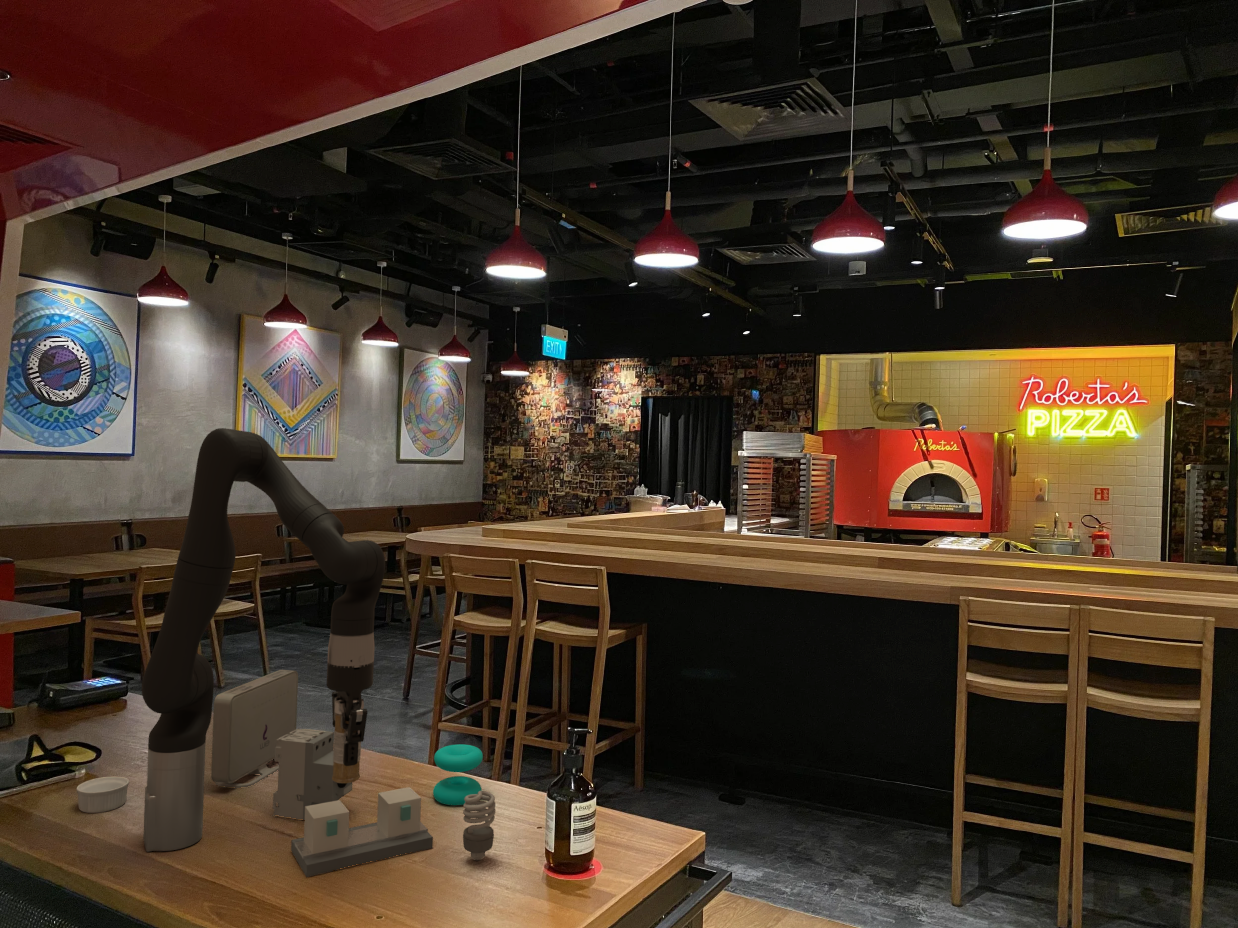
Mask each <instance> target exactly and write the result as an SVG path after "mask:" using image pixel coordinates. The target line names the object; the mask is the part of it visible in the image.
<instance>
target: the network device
mask: <svg viewBox="0 0 1238 928" xmlns="http://www.w3.org/2000/svg"><path fill="white" fill-rule="evenodd" d="M298 687H299V673H298V672H297V670H290V669H289V670H288V669H278V670H276V671H274V672H271V673H268V674H266V675H264V676H261V677H258V678H257V679H253V680H251V681H249V682H246V683H243V684H241V685H238V686H236V687H233V688H231V689H228V690H226V691H223V692H221V693H218V694H217V695H216V696H215V698H214V699H213V711H212V712H213V713H212V714H213V715H212V716H213V718H212V742H211V744H212V745H211V746H212V748H211V749H212V750H211V771H210V774H211V776H210V779H211V781H212V782H214V783H215V784H216V785H218V786H217V787H219V786H225V787H224V788H226V787H235V788H234V789H236V788H241V787H248V786H251V785H254V784H255V783H257V782H259V781H260V780H262V779H264V778H265V777H267V776H268V775H270V774H272V775H274V774H275V773H274V772H276V771H277V770H278V768H279V764H278V765H276V766H275V767H271V768H270V767H268V765H267V764H268V763H270V762H271V761H274V760H275V747H276V746H277V741H276V740H277V739H278V738H280V737H282V736H284V735H286V734H287V735H289V733H290V732H292V731H294V730H296V729H297V722H298V721H297V719H298V717H297V716H298V715H297V714H298V693H299V692H298V691H299V690H298V689H299V688H298ZM280 756H281V754H278V757H280ZM273 759H274V760H273ZM277 772H278V771H277ZM277 772H276V773H277ZM273 773H274V774H273ZM251 774H260V775H261V776H260V775H258V777H256V778H255V779H252V780H251V781H249V782H246V783H237V782H236V781H238V780H239V779H241V778H243V777H245V776H247V775H251ZM267 778H268V777H267ZM264 780H265V779H264ZM262 781H263V780H262ZM259 783H260V782H259ZM215 784H214V785H215ZM257 784H258V783H257ZM216 785H215V786H216ZM254 786H255V785H254ZM251 787H252V786H251ZM248 788H249V787H248ZM241 789H242V788H241Z"/></svg>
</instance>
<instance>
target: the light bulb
mask: <svg viewBox="0 0 1238 928" xmlns="http://www.w3.org/2000/svg"><path fill="white" fill-rule="evenodd" d="M464 800H465V803H464V805H463V811H462V814H463V821H464V822H465V823H468V824H472V825H469V826H466V827H465V828H464V830H463V834H462V839H463V840H462V841H463V849H464V850H465V851H467V852H469V853H470V858H471V859H472V860H473V861H476V862H479V861H481V860H482V859H484V858H485V857H486V853H487V852H488V851H490V850H491V849H492V847H493V845H494V837H495V833H494V829H493V828H492V826H491V824H493V822H494V821H495V817H496V816H495V814H496V802H495V800H496V797H495V795H494V794H493V793H492V792H489V791H487V790H486V791H485V790H482V791H479V792H478V794H472V795H467V796H466V797H465V799H464Z"/></svg>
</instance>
